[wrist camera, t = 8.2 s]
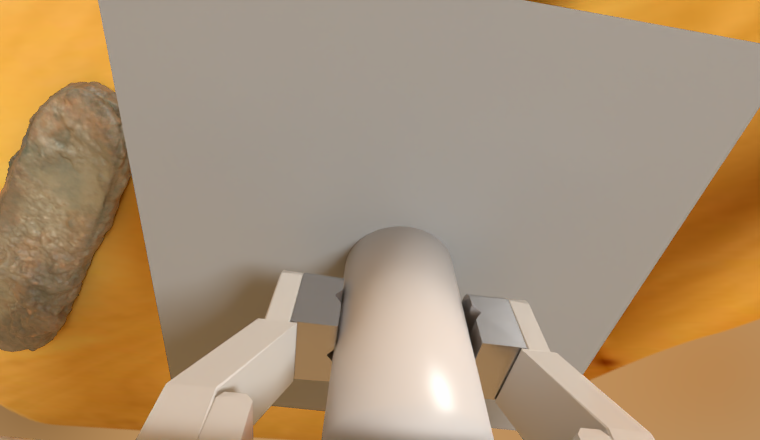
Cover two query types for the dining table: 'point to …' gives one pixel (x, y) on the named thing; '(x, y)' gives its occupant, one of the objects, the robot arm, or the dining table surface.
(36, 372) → the dining table surface
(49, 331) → the elongated rock
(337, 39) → the cover
